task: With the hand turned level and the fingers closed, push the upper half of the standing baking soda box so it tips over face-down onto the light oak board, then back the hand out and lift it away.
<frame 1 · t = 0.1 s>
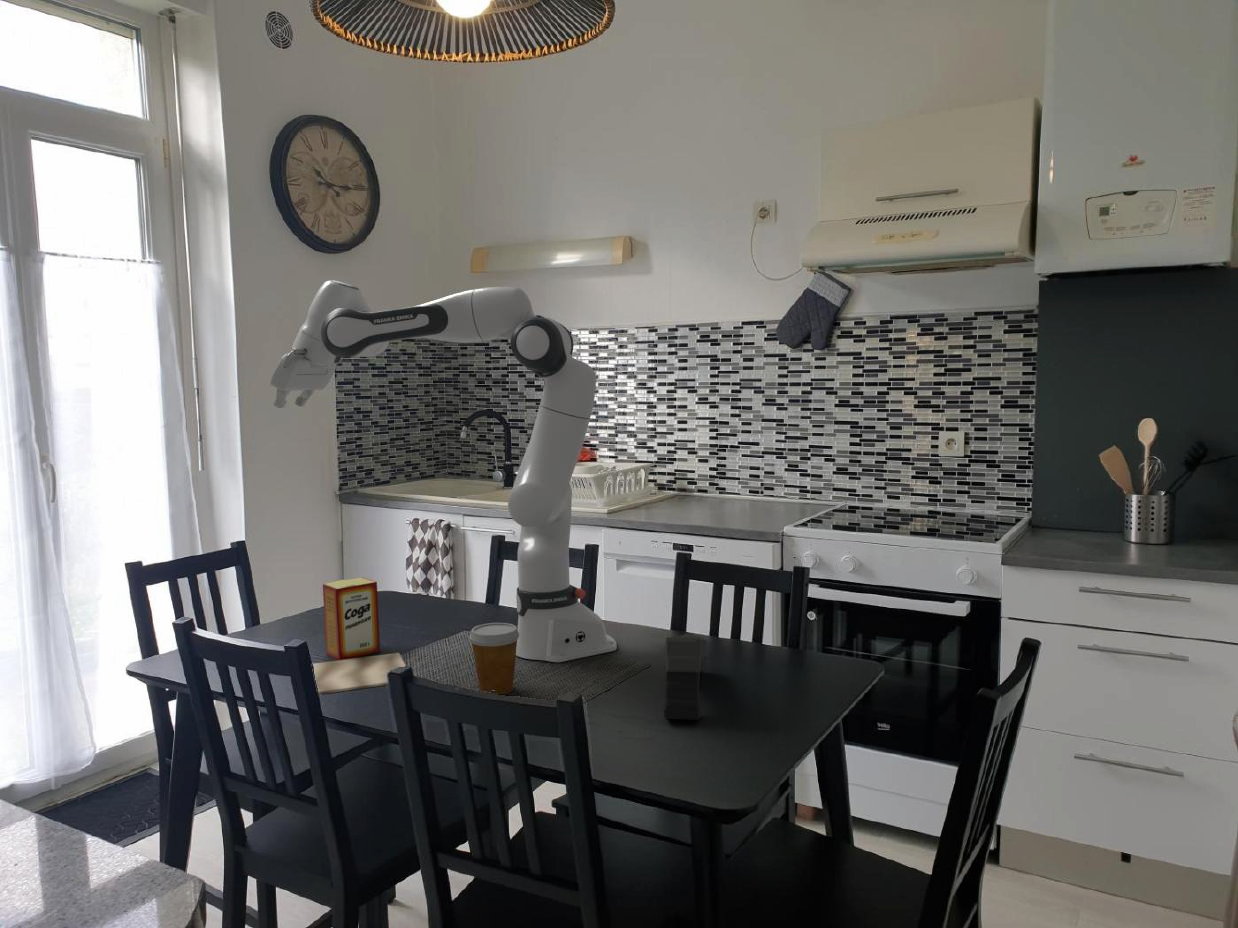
hand: (289, 406, 204), 54 cm above the table, tool tilted 30°, fingers open, 8 cm apart
disposable coffee cup: (496, 690, 178), on the table
dark grey upright block: (687, 697, 173), on the table
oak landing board: (360, 673, 189), on the table
baking soda box: (353, 653, 204), on the table
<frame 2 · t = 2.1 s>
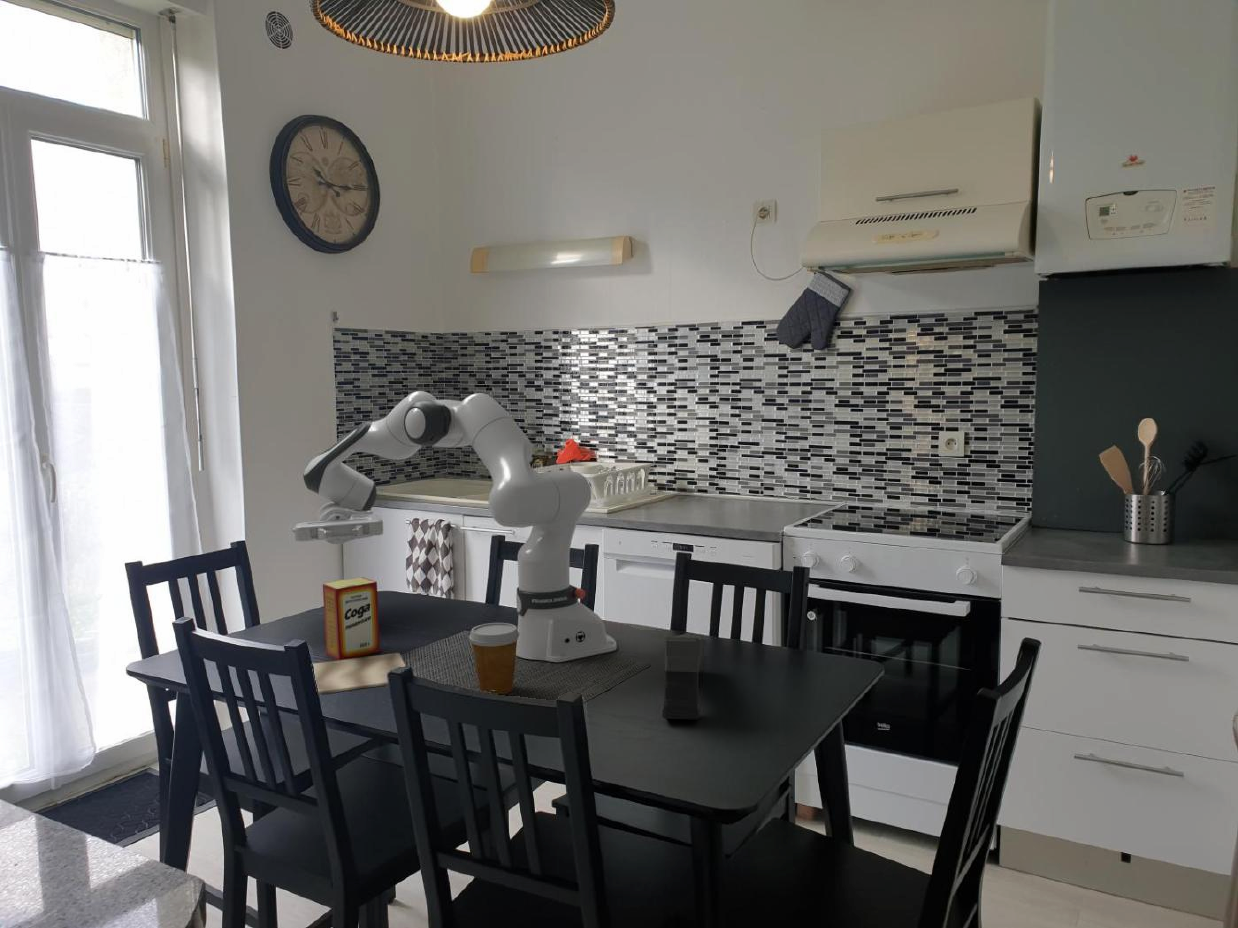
hand: (341, 534, 216), 24 cm above the table, tool horizontal, fingers open, 5 cm apart
nothing on the table moved.
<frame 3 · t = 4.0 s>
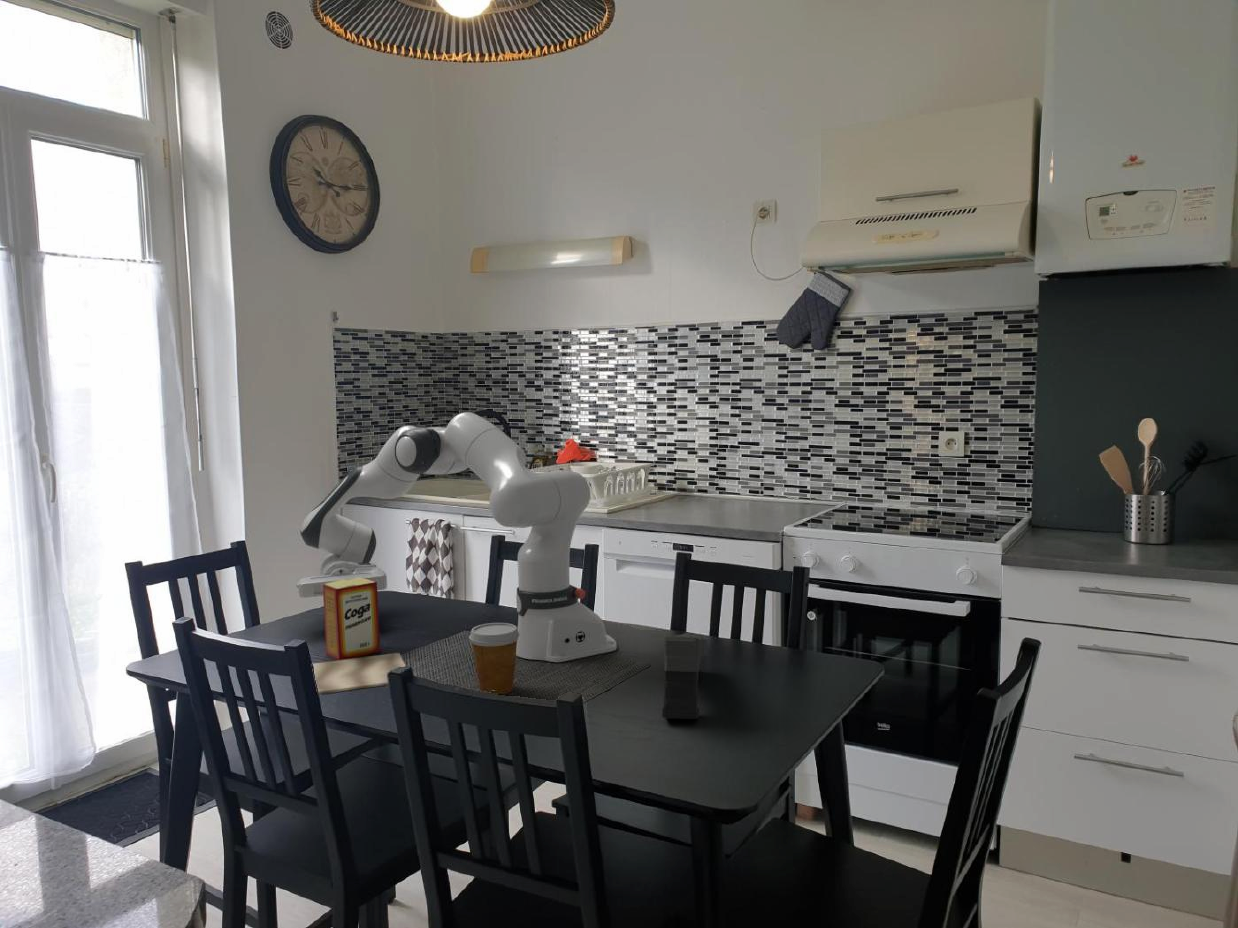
hand: (345, 590, 215), 11 cm above the table, tool horizontal, fingers closed
nothing on the table moved.
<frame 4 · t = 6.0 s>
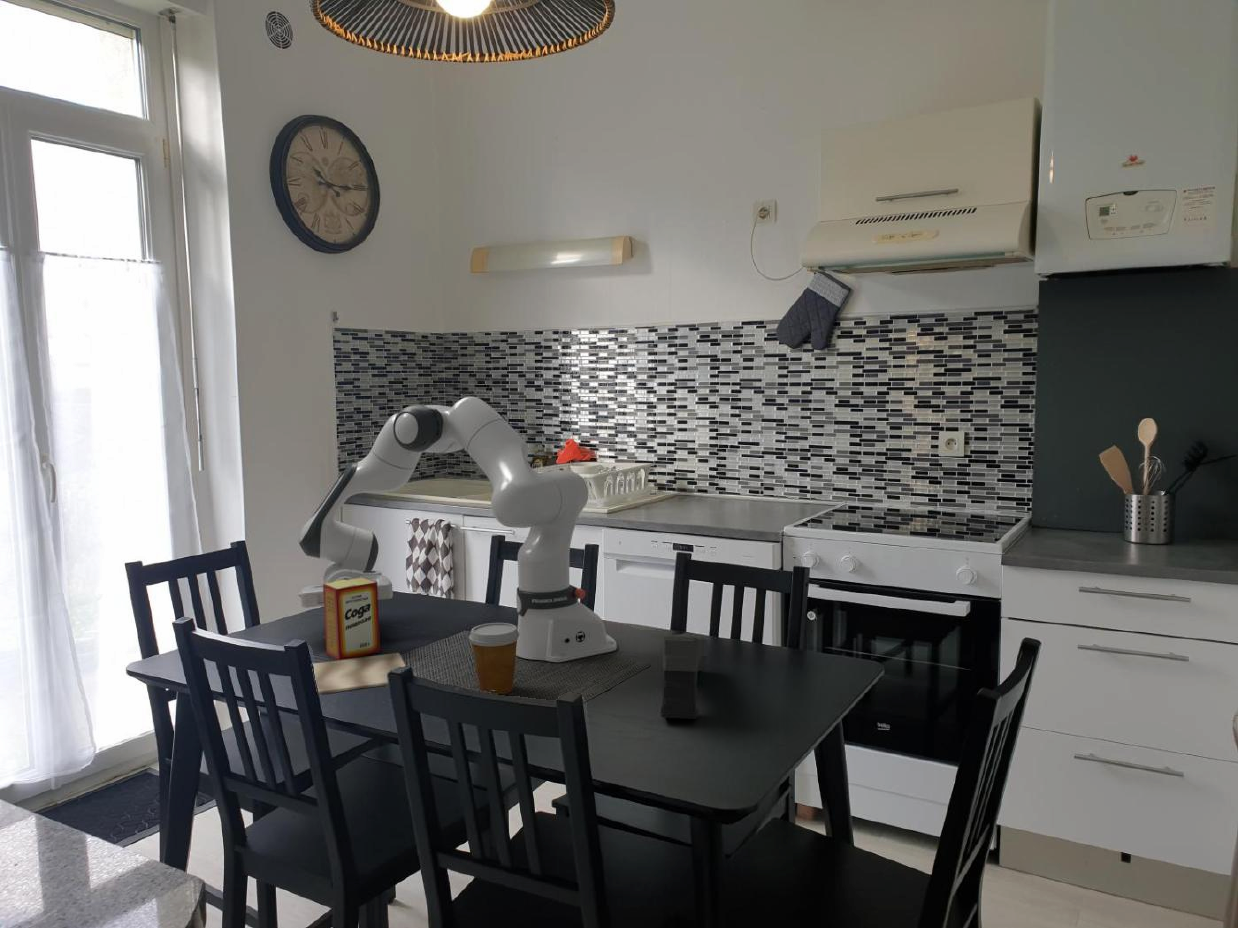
hand: (349, 600, 207), 11 cm above the table, tool horizontal, fingers closed
baking soda box: (353, 653, 204), on the table, touching gripper
everything else where it was.
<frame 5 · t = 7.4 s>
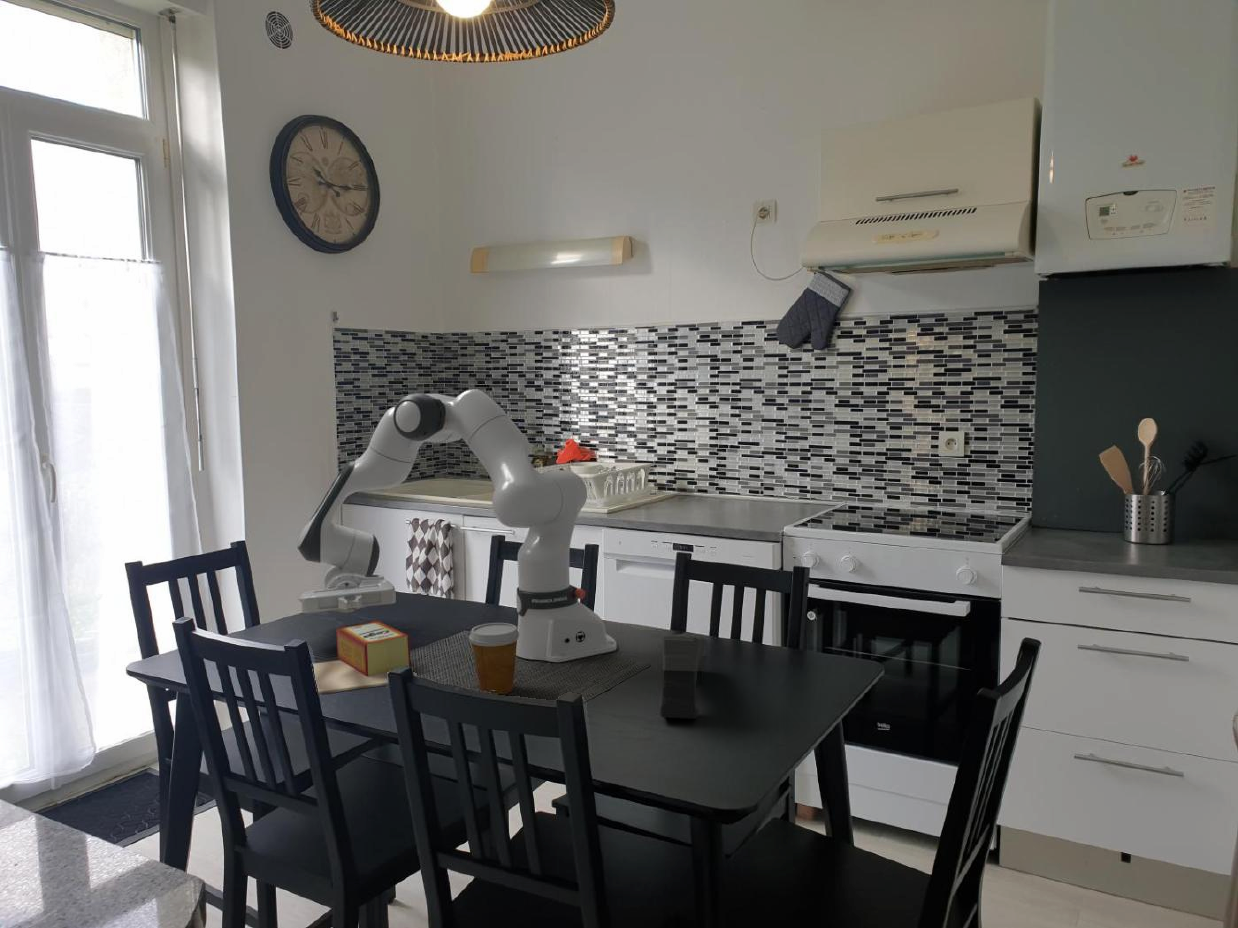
hand: (351, 605, 201), 11 cm above the table, tool horizontal, fingers closed
baking soda box: (357, 639, 201), point 4 cm above the table, touching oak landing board
everything else where it was.
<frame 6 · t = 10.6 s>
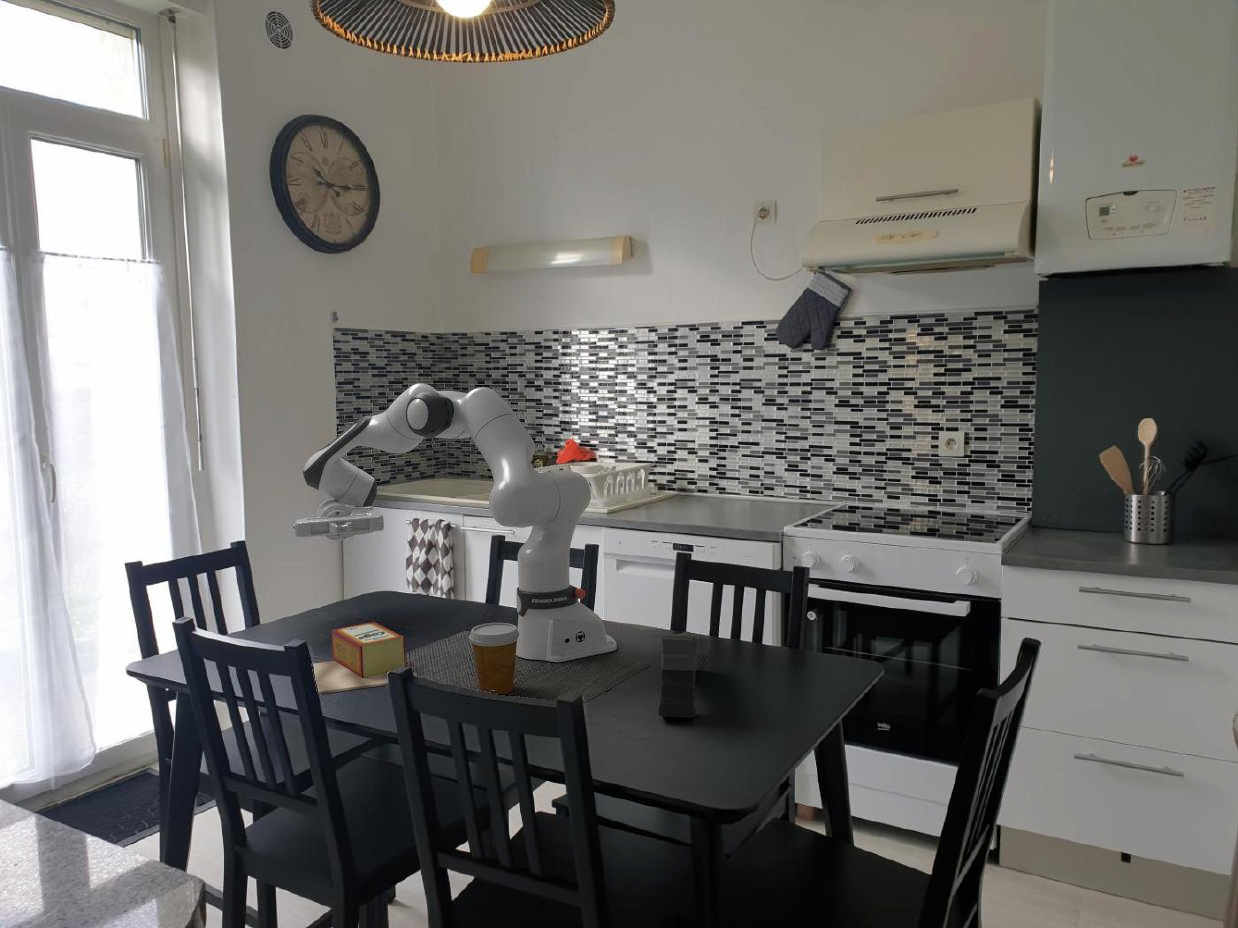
hand: (342, 529, 213), 25 cm above the table, tool horizontal, fingers closed
baking soda box: (353, 640, 200), point 4 cm above the table, touching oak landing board
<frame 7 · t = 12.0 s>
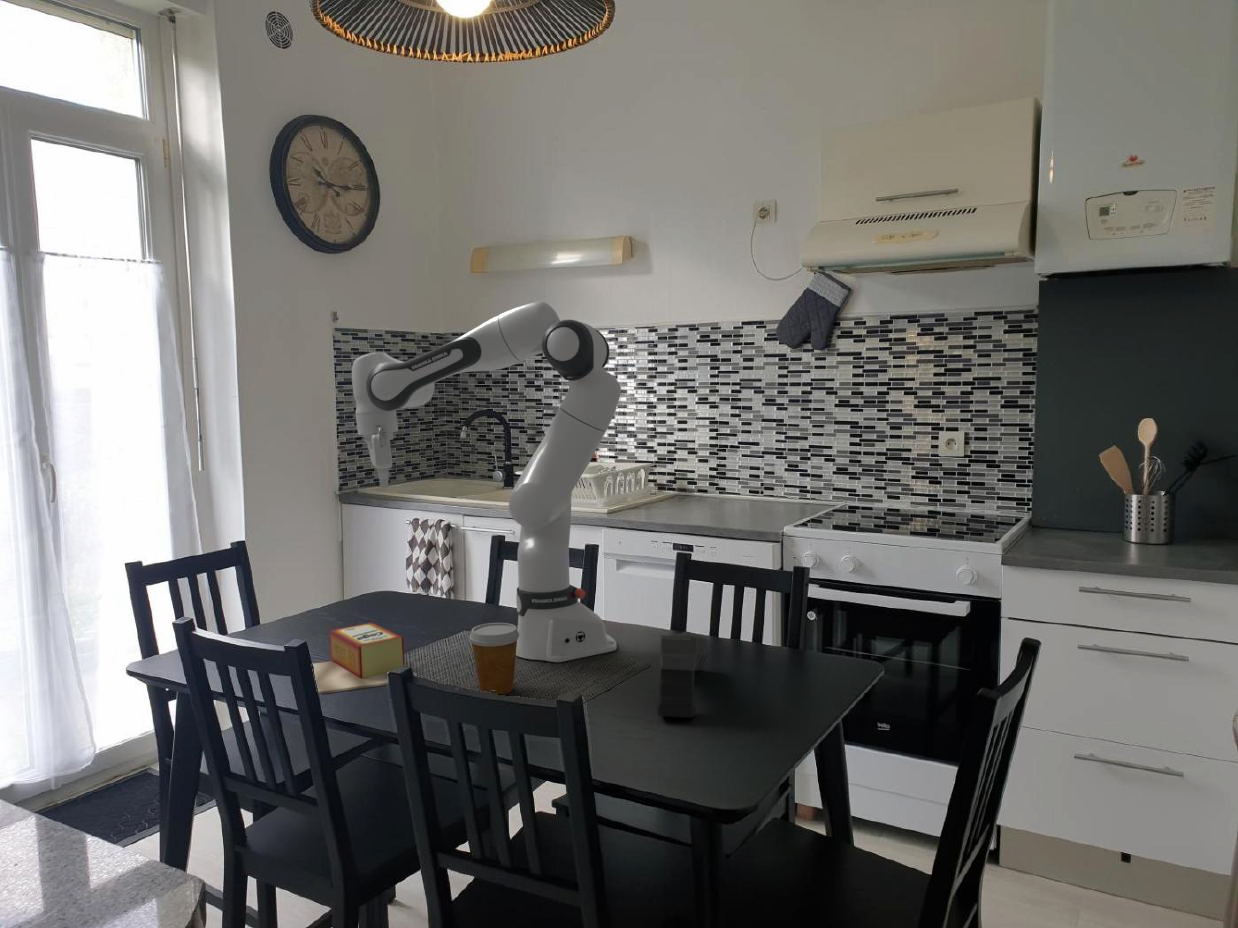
hand: (384, 487, 209), 35 cm above the table, tool pointing down, fingers closed
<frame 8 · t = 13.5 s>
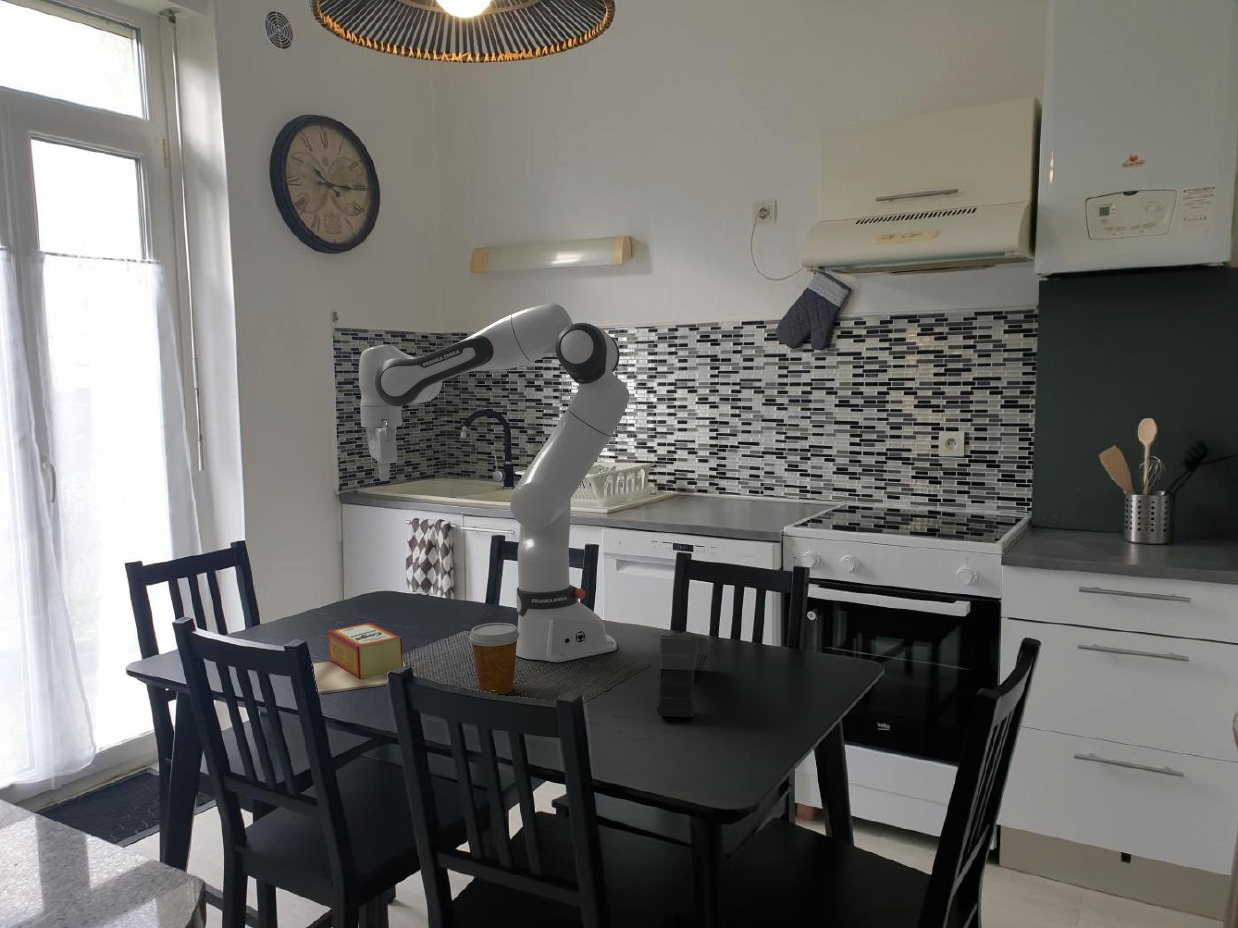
hand: (384, 480, 208), 37 cm above the table, tool pointing down, fingers closed
at the end: baking soda box tilted 90°; baking soda box touching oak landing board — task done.
